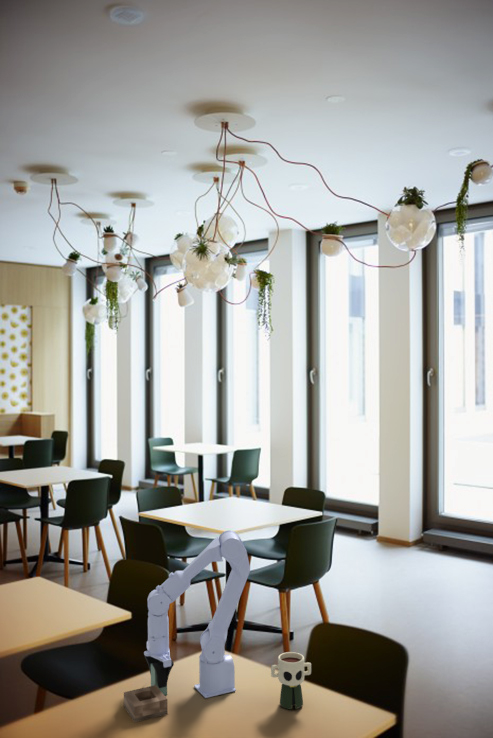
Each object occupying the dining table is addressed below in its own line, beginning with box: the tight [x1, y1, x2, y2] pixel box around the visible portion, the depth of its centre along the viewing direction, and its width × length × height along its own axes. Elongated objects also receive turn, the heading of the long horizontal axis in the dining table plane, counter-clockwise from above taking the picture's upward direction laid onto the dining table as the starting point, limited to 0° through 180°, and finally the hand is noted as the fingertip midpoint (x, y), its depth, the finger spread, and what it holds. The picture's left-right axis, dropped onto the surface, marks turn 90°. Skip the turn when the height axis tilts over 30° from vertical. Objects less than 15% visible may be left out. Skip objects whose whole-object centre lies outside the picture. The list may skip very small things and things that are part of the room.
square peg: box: [150, 664, 168, 696], centre depth 202 cm, size 4×4×8 cm
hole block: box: [123, 685, 169, 723], centre depth 192 cm, size 9×9×4 cm
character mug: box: [270, 651, 312, 710], centre depth 194 cm, size 11×7×13 cm, turn 98°
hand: (158, 683), depth 202 cm, fingers open, 5 cm apart
